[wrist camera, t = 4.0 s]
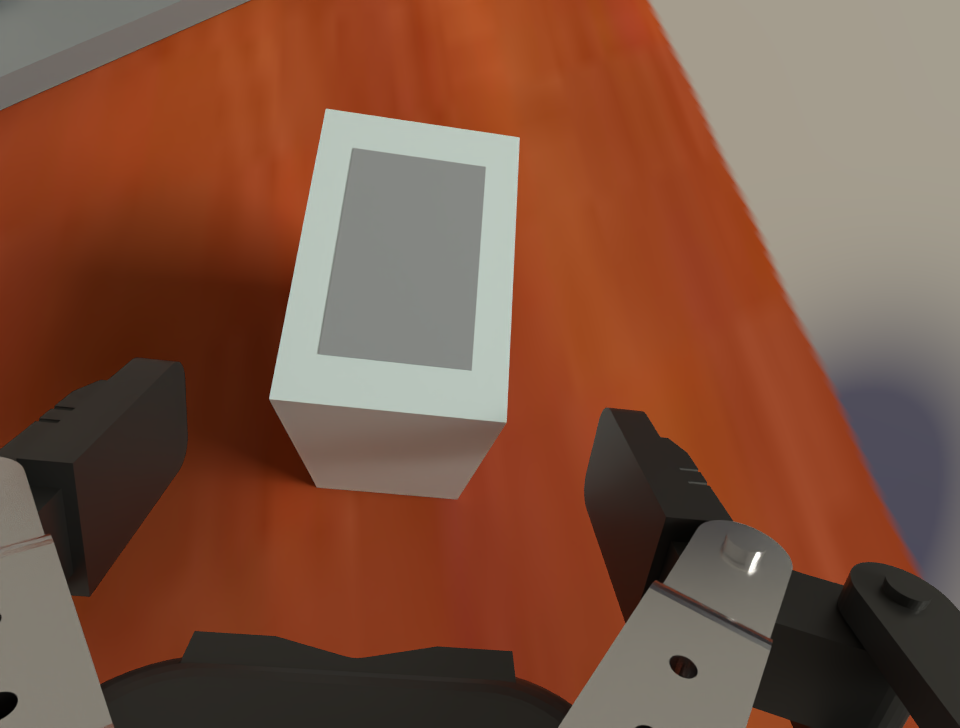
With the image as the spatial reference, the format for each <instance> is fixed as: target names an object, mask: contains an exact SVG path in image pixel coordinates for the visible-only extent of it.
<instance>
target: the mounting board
mask: <svg viewBox="0 0 960 728" xmlns="http://www.w3.org/2000/svg"><path fill="white" fill-rule="evenodd" d="M247 1H250V0H0V110H2V109H4V108H6V107H9V106H11V105H13V104H15V103H18V102H20V101H22V100H24V99H27V98H29V97H31V96H34V95H36V94H38V93H40V92H43V91H45V90H47V89H49V88H52V87H54V86H56V85H59V84H61V83H63V82H65V81H68V80H70V79H72V78H74V77H77V76H79V75H81V74H84V73H86V72H88V71H90V70H93V69H95V68H97V67H99V66H102V65H104V64H106V63H109V62H111V61H113V60H115V59H118V58H120V57H122V56H125V55H127V54H129V53H131V52H134V51H136V50H138V49H140V48H143V47H145V46H147V45H150V44H152V43H154V42H156V41H159V40H161V39H163V38H165V37H168V36H170V35H172V34H175V33H177V32H179V31H181V30H184V29H186V28H188V27H190V26H193V25H195V24H197V23H200V22H202V21H204V20H206V19H209V18H211V17H213V16H215V15H218V14H220V13H222V12H225V11H227V10H229V9H231V8H234V7H236V6H238V5H240V4H243V3H245V2H247Z"/></svg>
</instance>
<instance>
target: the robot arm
mask: <svg viewBox="0 0 960 728" xmlns="http://www.w3.org/2000/svg"><path fill="white" fill-rule="evenodd" d="M187 441H188V432H187V410H186V388H185V373H184V368H183V366H182V364H181V363H180V362H176V361H166V360H157V359H147V358H138V357H136V358H134V359H132V360H131V361H130V362H129V363H127V364H126V365H125V366H124V367H123V368H122V369H120V370H119V371H118V372H117V373H116V374H115V375H113V376H112V377H111V378H110V379H109V380H99V381H97V382H94V383H92V384H90V385H87V386H85V387H82V388H80V389H77V390H75V391H73V392H71V393H70V394H69V395H68V396H66V397H65V398H64V399H63V400H61V401H60V402H59V403H58V404H56V405H55V408H54V409H50V410H49V411H48V412H46V413H45V414H44V415H43V416H41V417H40V418H39V422H37V421H35V422H34V423H33V424H31V425H30V426H29V427H28V428H26V429H25V430H24V431H23V432H21V433H20V434H19V435H18V436H16V437H15V438H14V439H13V440H11V441H10V442H9V443H8V444H6V445H5V446H4V447H3V448H1V449H0V728H746V725H747V722H748V719H749V716H750V713H751V709H752V707H754V708H756V709H759V710H762V711H765V712H768V713H771V714H774V715H777V716H780V717H783V718H786V719H789V720H790V721H791V724H792V726H793V728H903V726H904V724H905V722H906V721H907V719H908V717H909V716H910V715H911V716H912V718H913V719H914V721H915V722H916V724H917V725H918V726H919V728H960V611H959V610H958V609H957V608H956V607H955V606H954V604H953V603H952V602H951V601H950V600H949V599H948V598H947V597H946V596H945V595H943V594H942V593H941V592H940V591H939V590H937V589H936V588H935V587H933V586H932V585H930V584H929V583H927V582H926V581H924V580H922V579H921V578H919V577H917V576H915V575H913V574H911V573H909V572H906V571H904V570H902V569H899V568H896V567H893V566H890V565H886V564H881V563H874V562H865V563H860V564H857V565H855V566H854V567H853V568H852V569H851V571H850V573H849V576H848V578H847V580H846V582H845V584H844V585H840V584H837V583H833V582H830V581H826V580H823V579H820V578H816V577H813V576H809V575H806V574H803V573H800V572H797V571H794V570H792V562H791V559H790V557H789V555H788V554H787V553H786V551H785V550H784V549H783V548H782V547H781V546H780V545H779V544H778V543H777V542H776V541H774V540H773V539H772V538H770V537H769V536H767V535H765V534H764V533H762V532H760V531H758V530H756V529H754V528H752V527H749V526H747V525H744V524H741V523H737V522H733V520H732V519H731V517H730V516H729V514H728V513H727V511H726V510H725V508H724V507H723V505H722V504H721V502H720V501H719V499H718V498H717V496H716V495H715V493H714V492H713V490H712V489H711V487H710V486H708V485H707V482H706V480H705V479H704V477H703V476H702V474H701V473H700V472H698V468H697V467H696V465H695V464H694V462H693V461H692V459H691V458H690V456H689V455H688V453H687V452H685V451H684V450H683V449H681V448H680V447H679V446H678V445H676V444H675V443H674V442H672V441H671V440H670V439H668V438H662V437H660V436H659V434H658V433H657V431H656V430H655V428H654V426H653V425H652V423H651V422H650V420H649V418H648V417H647V415H646V414H645V412H643V411H634V410H625V409H615V408H605V409H604V410H603V412H602V414H601V416H600V419H599V423H598V427H597V431H596V436H595V440H594V444H593V448H592V452H591V456H590V460H589V464H588V469H587V473H586V478H585V487H584V496H585V504H586V508H587V511H588V514H589V517H590V520H591V523H592V526H593V529H594V532H595V535H596V538H597V541H598V544H599V546H600V549H601V552H602V555H603V558H604V561H605V564H606V567H607V570H608V573H609V576H610V579H611V582H612V585H613V588H614V591H615V594H616V596H617V599H618V602H619V605H620V608H621V611H622V614H623V617H624V620H625V623H626V624H625V626H624V627H623V629H622V630H621V632H620V633H619V635H618V636H617V638H616V639H615V641H614V643H613V644H612V646H611V647H610V649H609V650H608V652H607V653H606V655H605V656H604V658H603V659H602V661H601V662H600V664H599V666H598V667H597V669H596V670H595V672H594V673H593V675H592V676H591V678H590V679H589V681H588V682H587V684H586V685H585V687H584V689H583V690H582V692H581V693H580V695H579V696H578V698H577V699H576V701H575V702H574V704H573V705H571V704H570V703H568V702H567V701H565V700H564V699H563V698H561V697H560V696H558V695H556V694H554V693H552V692H550V691H549V690H547V689H545V688H543V687H541V686H538V685H536V684H534V683H531V682H529V681H526V680H523V679H520V678H517V677H515V671H514V662H513V654H512V651H499V650H483V649H468V648H452V647H431V648H425V649H418V650H411V651H405V652H398V653H392V654H385V655H379V656H372V657H366V658H350V657H345V656H342V655H338V654H335V653H331V652H328V651H325V650H321V649H318V648H314V647H311V646H307V645H304V644H300V643H297V642H294V641H290V640H287V639H283V638H280V637H276V636H263V635H247V634H231V633H215V632H200V631H195V632H194V634H193V636H192V638H191V640H190V642H189V645H188V647H187V649H186V651H185V653H184V655H183V657H182V658H177V659H171V660H166V661H162V662H158V663H154V664H150V665H147V666H144V667H141V668H138V669H135V670H132V671H129V672H127V673H124V674H122V675H120V676H117V677H115V678H113V679H110V680H108V681H106V682H104V683H102V684H100V683H99V680H98V677H97V674H96V671H95V668H94V665H93V662H92V659H91V655H90V652H89V649H88V646H87V643H86V640H85V637H84V634H83V631H82V628H81V625H80V622H79V619H78V615H77V612H76V609H75V606H74V603H73V600H72V597H71V595H74V596H89V597H90V596H91V594H92V593H93V592H94V590H95V589H96V587H97V586H98V585H99V583H100V582H101V580H102V579H103V577H104V576H105V575H106V573H107V572H108V570H109V569H110V568H111V566H112V565H113V563H114V562H115V560H116V559H117V558H118V556H119V555H120V553H121V552H122V551H123V549H124V548H125V546H126V545H127V544H128V542H129V541H130V539H131V538H132V536H133V535H134V534H135V532H136V531H137V529H138V528H139V527H140V525H141V524H142V522H143V521H144V519H145V518H146V517H147V515H148V514H149V512H150V511H151V510H152V508H153V507H154V505H155V504H156V502H157V501H158V500H159V498H160V497H161V495H162V494H163V493H164V491H165V490H166V488H167V487H168V485H169V484H170V483H171V481H172V480H173V478H174V477H175V476H176V474H177V473H178V471H179V470H180V468H181V466H182V464H183V461H184V458H185V454H186V449H187Z"/></svg>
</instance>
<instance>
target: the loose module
mask: <svg viewBox="0 0 960 728" xmlns="http://www.w3.org/2000/svg"><path fill="white" fill-rule="evenodd" d="M519 140H520V138H519V137H512V136H506V135H499V134H492V133H485V132H479V131H472V130H465V129H459V128H452V127H445V126H438V125H432V124H425V123H418V122H411V121H405V120H398V119H391V118H385V117H378V116H371V115H364V114H358V113H351V112H344V111H337V110H331V109H326V111H325V116H324V121H323V126H322V131H321V136H320V142H319V147H318V152H317V157H316V162H315V167H314V172H313V177H312V182H311V187H310V193H309V198H308V203H307V208H306V213H305V218H304V223H303V228H302V233H301V238H300V244H299V249H298V254H297V259H296V264H295V269H294V274H293V279H292V284H291V289H290V294H289V300H288V305H287V310H286V315H285V320H284V325H283V330H282V335H281V340H280V345H279V351H278V356H277V361H276V366H275V371H274V376H273V381H272V386H271V391H270V396H269V400H270V402H271V404H272V406H273V407H274V409H275V411H276V413H277V415H278V417H279V419H280V420H281V422H282V424H283V426H284V428H285V430H286V431H287V433H288V435H289V437H290V439H291V441H292V442H293V444H294V446H295V448H296V450H297V452H298V453H299V455H300V457H301V459H302V461H303V463H304V465H305V466H306V468H307V470H308V472H309V474H310V476H311V477H312V479H313V481H314V483H315V485H316V487H318V488H330V489H341V490H353V491H365V492H377V493H388V494H400V495H412V496H424V497H435V498H447V499H458V498H459V496H460V494H461V493H462V491H463V490H464V488H465V487H466V485H467V484H468V482H469V480H470V479H471V477H472V476H473V474H474V473H475V471H476V469H477V468H478V466H479V465H480V463H481V462H482V460H483V459H484V457H485V455H486V454H487V452H488V451H489V449H490V448H491V446H492V444H493V443H494V441H495V440H496V438H497V437H498V435H499V434H500V432H501V430H502V429H503V427H504V426H505V424H506V422H507V400H508V379H509V357H510V335H511V314H512V292H513V270H514V248H515V227H516V205H517V183H518V161H519Z"/></svg>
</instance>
